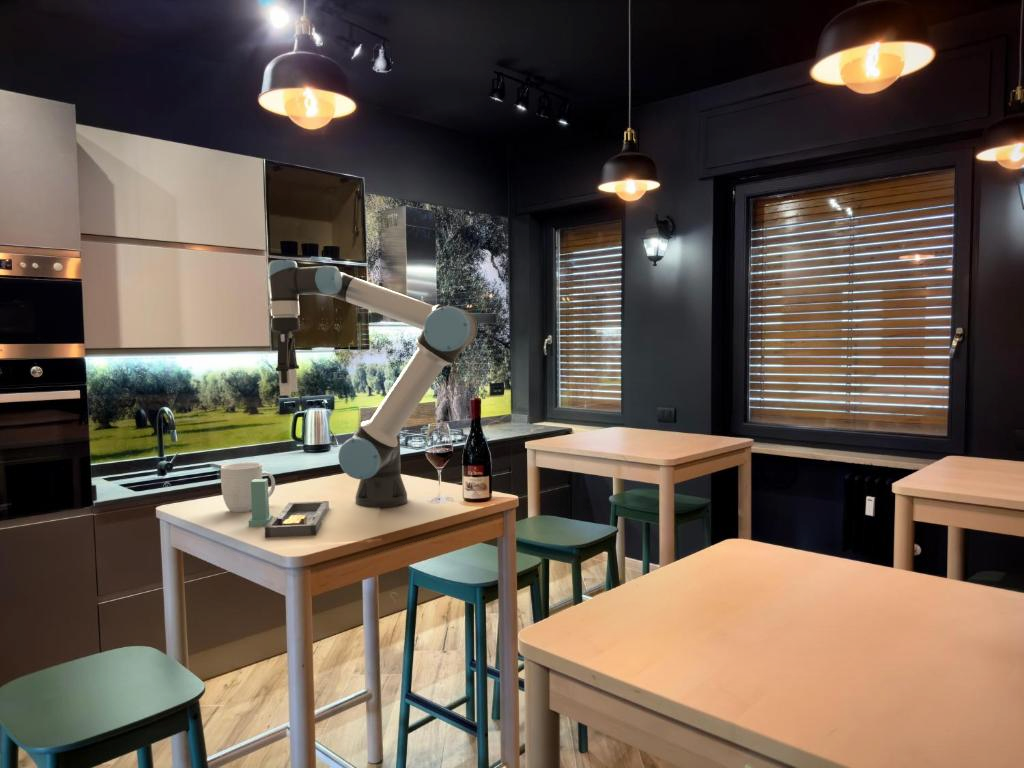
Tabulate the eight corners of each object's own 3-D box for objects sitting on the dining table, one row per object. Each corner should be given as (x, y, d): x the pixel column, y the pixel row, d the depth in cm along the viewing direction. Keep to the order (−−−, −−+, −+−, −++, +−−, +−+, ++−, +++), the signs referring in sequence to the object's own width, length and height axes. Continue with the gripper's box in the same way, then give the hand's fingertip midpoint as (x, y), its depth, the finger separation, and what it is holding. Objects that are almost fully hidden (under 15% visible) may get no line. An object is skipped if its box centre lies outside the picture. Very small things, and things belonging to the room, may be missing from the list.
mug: (268, 502, 207) (267, 459, 207) (282, 508, 199) (280, 463, 198) (217, 510, 198) (215, 465, 197) (229, 517, 190) (227, 470, 189)
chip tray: (321, 526, 179) (321, 514, 179) (315, 537, 169) (315, 525, 169) (273, 528, 178) (273, 517, 178) (265, 539, 168) (264, 527, 168)
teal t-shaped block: (273, 522, 184) (271, 478, 183) (268, 527, 179) (267, 481, 178) (253, 523, 183) (251, 478, 183) (248, 528, 178) (246, 482, 178)
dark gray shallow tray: (328, 509, 197) (328, 501, 197) (319, 526, 179) (319, 516, 179) (289, 511, 196) (288, 502, 195) (275, 528, 178) (275, 518, 178)
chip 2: (306, 524, 180) (306, 514, 180) (304, 528, 176) (304, 518, 176) (291, 524, 179) (290, 515, 179) (288, 528, 175) (287, 519, 175)
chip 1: (302, 528, 176) (301, 518, 176) (299, 532, 172) (298, 522, 172) (285, 529, 175) (285, 519, 175) (282, 533, 171) (282, 523, 171)
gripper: (278, 319, 202) (281, 391, 204) (262, 315, 178) (267, 397, 179) (304, 318, 204) (308, 390, 205) (293, 314, 179) (297, 396, 180)
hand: (289, 393), depth 192 cm, fingers open, 13 cm apart
